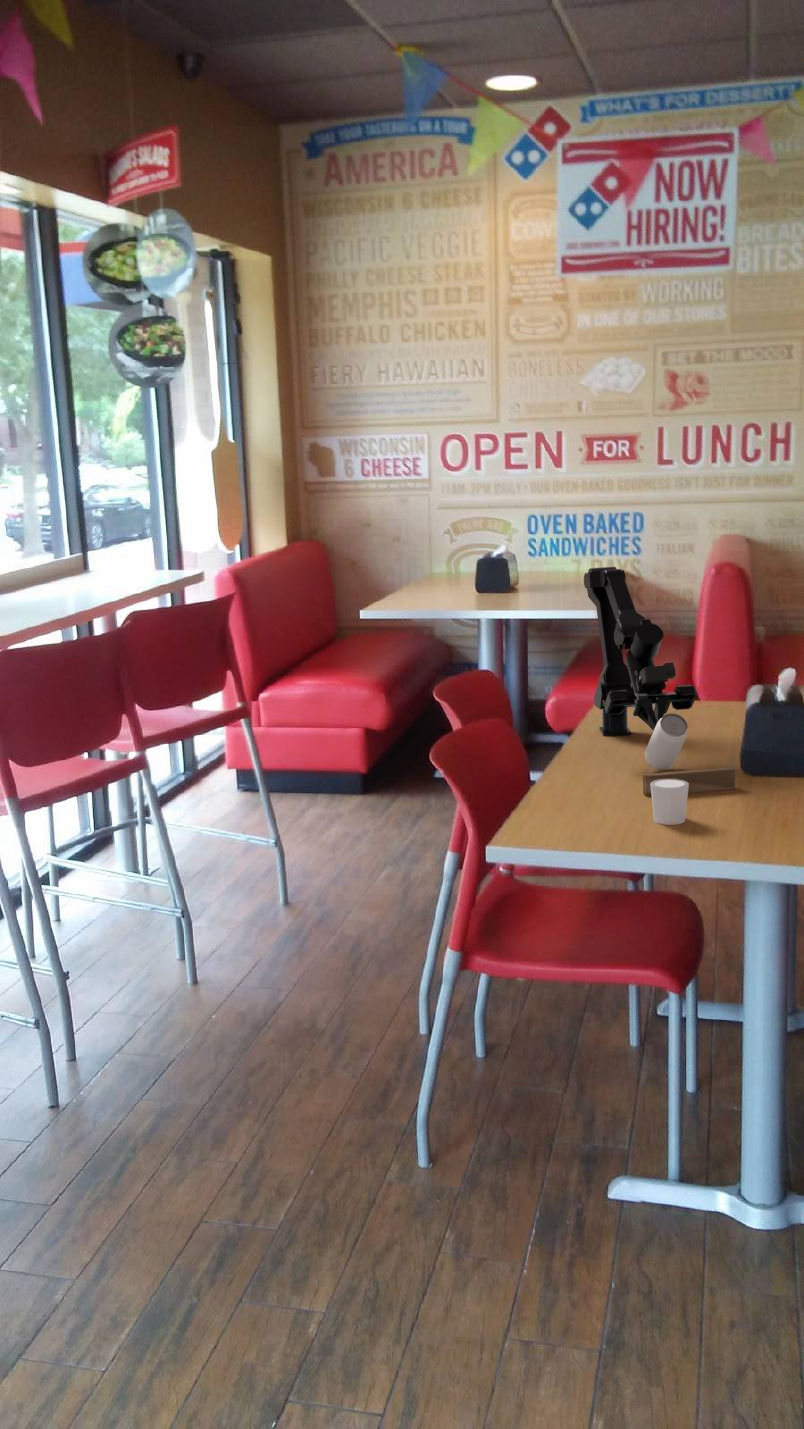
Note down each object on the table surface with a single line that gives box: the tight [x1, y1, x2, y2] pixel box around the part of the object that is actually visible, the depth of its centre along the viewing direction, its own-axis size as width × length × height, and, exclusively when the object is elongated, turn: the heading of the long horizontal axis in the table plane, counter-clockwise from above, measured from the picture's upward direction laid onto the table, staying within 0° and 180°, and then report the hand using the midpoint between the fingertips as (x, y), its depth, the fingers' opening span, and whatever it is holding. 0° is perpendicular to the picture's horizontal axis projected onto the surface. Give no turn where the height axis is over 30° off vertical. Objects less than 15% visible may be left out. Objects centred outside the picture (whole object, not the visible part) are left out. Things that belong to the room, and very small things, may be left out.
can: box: [644, 712, 689, 770], centre depth 265 cm, size 6×6×12 cm
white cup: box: [650, 779, 689, 826], centre depth 235 cm, size 7×7×7 cm
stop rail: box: [642, 766, 736, 797], centre depth 252 cm, size 2×18×4 cm, turn 97°
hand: (659, 733), depth 268 cm, fingers closed
